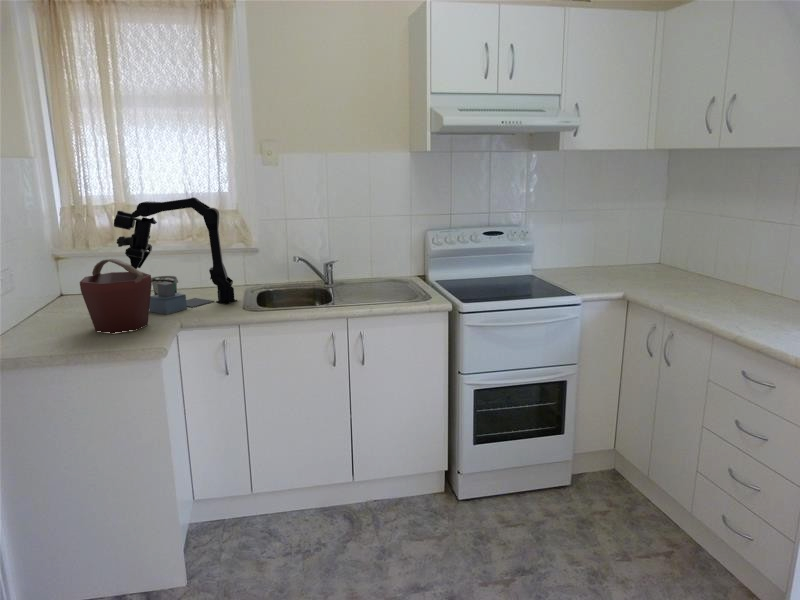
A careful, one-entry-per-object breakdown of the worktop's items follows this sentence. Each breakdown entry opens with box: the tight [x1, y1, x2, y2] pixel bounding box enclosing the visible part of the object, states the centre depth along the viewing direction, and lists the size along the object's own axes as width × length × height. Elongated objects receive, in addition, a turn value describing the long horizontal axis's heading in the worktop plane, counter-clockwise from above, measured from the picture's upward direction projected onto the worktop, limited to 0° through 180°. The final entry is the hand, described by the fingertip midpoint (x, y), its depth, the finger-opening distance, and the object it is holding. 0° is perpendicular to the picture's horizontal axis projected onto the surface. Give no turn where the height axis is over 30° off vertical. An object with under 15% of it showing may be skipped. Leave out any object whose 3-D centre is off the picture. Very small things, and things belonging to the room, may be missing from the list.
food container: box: [151, 275, 179, 295], centre depth 250 cm, size 12×6×10 cm, turn 74°
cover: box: [149, 282, 188, 315], centre depth 231 cm, size 10×10×11 cm
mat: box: [186, 297, 215, 309], centre depth 244 cm, size 12×12×1 cm
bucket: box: [79, 258, 153, 333], centre depth 205 cm, size 24×22×25 cm
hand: (136, 269), depth 235 cm, fingers open, 9 cm apart
